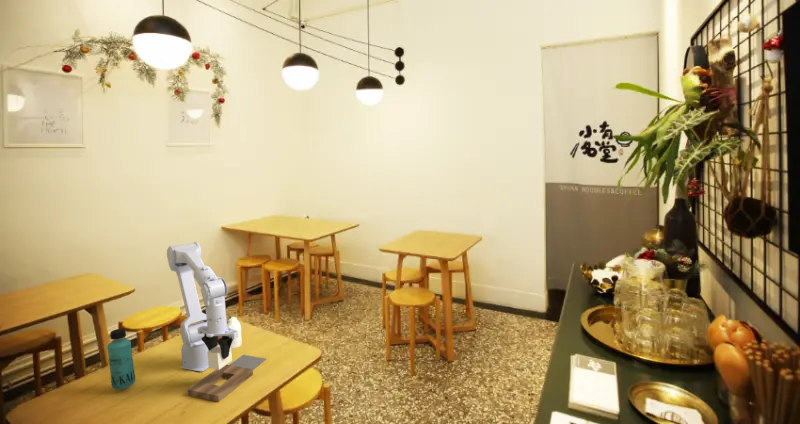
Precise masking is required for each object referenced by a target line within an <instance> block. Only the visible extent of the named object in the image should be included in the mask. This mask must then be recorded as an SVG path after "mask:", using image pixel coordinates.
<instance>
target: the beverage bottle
mask: <svg viewBox="0 0 800 424" xmlns="http://www.w3.org/2000/svg"><path fill="white" fill-rule="evenodd" d="M126 336H127V333H126V329H125V328H116V329H112V330H111V331H110V336H109V338H110V340H111V341H110V342H109V343H108V344H107V355H108V364H109V366H108V367H109V372H110V373H109V374H110V375H109V376H110V383H111V387H112V389H113V390H117V391H118V390H123V389H127V388H129V387H131V386H133V385H134V384H135V383H136V374H135V363H134V359H133V352H132V341H131V340H130V339H129V338H127V337H126Z"/></svg>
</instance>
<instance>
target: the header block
mask: <svg viewBox="0 0 800 424" xmlns="http://www.w3.org/2000/svg"><path fill="white" fill-rule="evenodd" d="M253 371H254V369H249V368H243V367H238V366H232V365H230V364H227V365H225V366H224V367H222V368H221V369H220V370H217V369H214V370H213V371H212V372H210V373H209V374H207V375H206V376H205V377H203V378H202V379H200V380H198V381H197V382H196V383H194V384H193V385H191V386H190V387H189V388H188V389H186V390H187V396H189V397H194V398H198V399H204V400H208V401H214V402H217V403H219V402H221V401H222V400H223V399H225V398H226V397H227V396H228V395H230V393H232V392H233V391H235V390H236V389H237V388H238V387H239V386H241V385H242V384H243V383H245V382H246V381H247V380H248V379H249V378H251V377H252V376H253V375H254V372H253ZM223 379H227V380H225V382H223V383H222V384H220V385H217V383H218V382H219V381H221V380H223Z"/></svg>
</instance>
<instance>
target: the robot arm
mask: <svg viewBox="0 0 800 424" xmlns="http://www.w3.org/2000/svg"><path fill="white" fill-rule="evenodd" d="M202 253H203V251H202V247H201V245H200V243H199V242H197V241H194V242H190V243H184V244H183V243H182V244H179V245H178V244H177V245H170V246H168V248H167V250H166V258H167V262H168V266H169V268H170V271H172V272H175V273H176V276H177V280H178V282H179V287H180V291H181V296H182V299H183V304H184V308H185V312H186V313H185V314H186V317H185V319H184V320H183V321H182V322H181V323H180V325H179V326H180V336H181V337H180V338H181V340H182V343H183V344H182V347H181V349H180V350H181V352H180V353H181V360H182V365H181V366H180V368H181V369H182V370H183V369H185V370H189V371H195V372H200V373H203V372H204V371H206V370H207V369H210V368H209V365H208V354H207V352H208V351H210V350H211V349H213V348H214V347H216V346H218V345H219V346H220V349H221V354H222V358H223V359H225V358H227V357H228V356H229V351H230V347H231V344H232V341H233V339H236V338H237V337H239V335H238V331H235V330H233V329H231V328H229V327H227V320H226V314H227V312H226V300H225V298H226V297H225V296H227V294H228V285H227V282H226V280H225V279H224V278H223V277H220V276H217V274H216V273H215V271H214V270H213V269H212V268H211V267H210V266H209V265H205V263H204V261H203V260H202ZM195 281H196V282H195ZM196 283H197V284H198V286H199V288H200V294H201V297H202V301H203V305H204V306H205V313H204V312H203V311H202V307H201V302H200V299H199V295H198V291H197V286H196ZM218 336H222V338H221V339H219V340H218Z"/></svg>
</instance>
